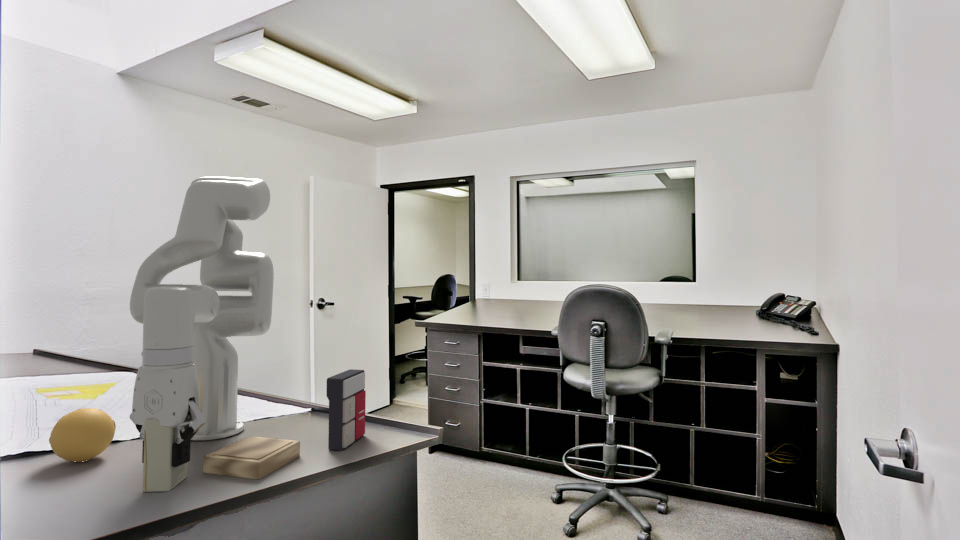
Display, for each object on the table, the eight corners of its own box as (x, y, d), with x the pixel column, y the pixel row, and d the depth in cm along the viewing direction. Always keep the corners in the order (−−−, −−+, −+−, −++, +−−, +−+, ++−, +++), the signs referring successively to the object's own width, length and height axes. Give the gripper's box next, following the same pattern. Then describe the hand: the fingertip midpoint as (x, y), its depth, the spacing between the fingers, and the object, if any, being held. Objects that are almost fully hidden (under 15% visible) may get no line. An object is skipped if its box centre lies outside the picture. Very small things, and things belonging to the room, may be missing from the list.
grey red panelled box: (344, 451, 101) (345, 379, 101) (325, 450, 102) (326, 378, 102) (366, 435, 112) (367, 369, 112) (349, 434, 113) (350, 368, 113)
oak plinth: (203, 472, 90) (203, 455, 90) (248, 450, 101) (249, 435, 101) (259, 479, 87) (259, 461, 87) (299, 456, 98) (299, 440, 98)
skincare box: (162, 477, 87) (164, 409, 87) (188, 477, 87) (190, 409, 88) (141, 493, 81) (142, 419, 81) (169, 492, 81) (170, 419, 81)
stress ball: (100, 470, 92) (137, 425, 100) (58, 441, 87) (100, 395, 95) (66, 472, 96) (104, 427, 103) (23, 443, 90) (67, 399, 98)
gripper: (108, 358, 83) (105, 465, 83) (192, 363, 79) (189, 476, 78) (148, 352, 90) (145, 450, 90) (226, 356, 86) (224, 459, 86)
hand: (166, 461), depth 84 cm, fingers closed on skincare box, 5 cm apart
